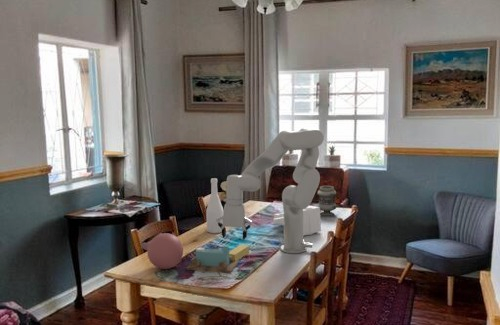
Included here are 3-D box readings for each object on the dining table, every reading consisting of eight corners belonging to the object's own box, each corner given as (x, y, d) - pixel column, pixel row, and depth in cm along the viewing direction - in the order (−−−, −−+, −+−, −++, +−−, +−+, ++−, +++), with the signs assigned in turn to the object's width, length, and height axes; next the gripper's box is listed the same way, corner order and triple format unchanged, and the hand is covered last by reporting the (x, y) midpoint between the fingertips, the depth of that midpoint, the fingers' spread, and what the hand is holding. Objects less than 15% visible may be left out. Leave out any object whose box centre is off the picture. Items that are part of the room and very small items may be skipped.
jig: (238, 263, 202) (237, 255, 202) (231, 273, 190) (230, 265, 190) (195, 260, 206) (195, 252, 206) (186, 269, 195) (186, 262, 194)
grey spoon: (244, 221, 272) (243, 180, 268) (233, 225, 262) (232, 183, 259) (226, 218, 279) (225, 179, 275) (215, 223, 269) (214, 181, 266)
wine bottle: (216, 234, 245) (214, 180, 241) (203, 231, 251) (201, 179, 247) (227, 230, 253) (226, 178, 249) (214, 228, 259) (213, 176, 254)
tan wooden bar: (249, 253, 215) (248, 245, 215) (235, 263, 203) (235, 254, 202) (240, 252, 217) (240, 244, 217) (226, 261, 205) (226, 253, 204)
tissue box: (295, 224, 271) (329, 231, 249) (262, 231, 257) (295, 239, 234) (294, 199, 270) (327, 204, 248) (261, 205, 256) (293, 211, 233)
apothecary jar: (317, 212, 292) (317, 184, 289) (336, 212, 290) (336, 185, 288) (317, 216, 280) (317, 188, 278) (337, 217, 278) (337, 188, 276)
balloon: (153, 258, 209) (151, 226, 207) (190, 264, 202) (189, 231, 199) (132, 270, 196) (130, 235, 193) (171, 276, 188) (169, 241, 185)
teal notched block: (229, 263, 199) (229, 245, 198) (226, 267, 195) (226, 248, 194) (199, 261, 202) (199, 243, 201) (196, 264, 198) (195, 246, 197)
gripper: (214, 202, 205) (213, 238, 207) (251, 204, 201) (250, 241, 203) (218, 199, 212) (218, 234, 214) (254, 201, 208) (253, 237, 211)
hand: (234, 237), depth 209 cm, fingers open, 9 cm apart
